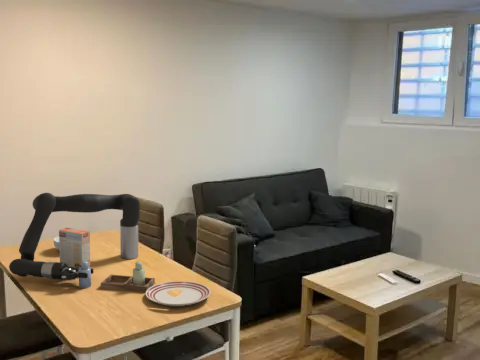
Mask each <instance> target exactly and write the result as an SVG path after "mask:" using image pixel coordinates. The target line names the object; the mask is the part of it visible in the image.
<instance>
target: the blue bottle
mask: <svg viewBox="0 0 480 360" xmlns="http://www.w3.org/2000/svg"><path fill="white" fill-rule="evenodd" d="M91 269H92V267H91V266H90V267H88V262H87V261H83V262H81V268H79V269H78V270H79V273H80V272H81V273H88V277H87V278H78V287H79V288H80V289H87V288H90V287H91V286H92V274H91Z"/></svg>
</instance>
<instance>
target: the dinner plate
mask: <svg viewBox="0 0 480 360" xmlns="http://www.w3.org/2000/svg"><path fill="white" fill-rule="evenodd" d="M175 290H178V291H179V290H180V291H181V292H180V293H179V295H177V296H173V295H172V294H169V293H168V292H170V291H175ZM211 292H212V291H211V289H210V288H209V287H208V285H205V284H202V283H199V282H196V281H195V282H194V281H188V280H186V281H185V280H178V281H177V280H174V281H166V282H161V283H158V284H157V283H156V284H154V285H153V286H152V287H150V288H149V289H148V290H147V291H146V292H145V296H146V298H147V299H148V300H149V301H151V302H154V303H156V304H159V305H162V306H170V307H185V305H186V306H190V305H191V306H192V305H195V304H197V303H200V302H203V301H204V300H206V299H207V298H208V297H210V295H211Z"/></svg>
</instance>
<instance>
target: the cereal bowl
mask: <svg viewBox="0 0 480 360" xmlns="http://www.w3.org/2000/svg"><path fill="white" fill-rule="evenodd" d="M53 246H54V248H56V249H57V250H58V251H60V248H59V235H57V236H56V237H54V238H53Z"/></svg>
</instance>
